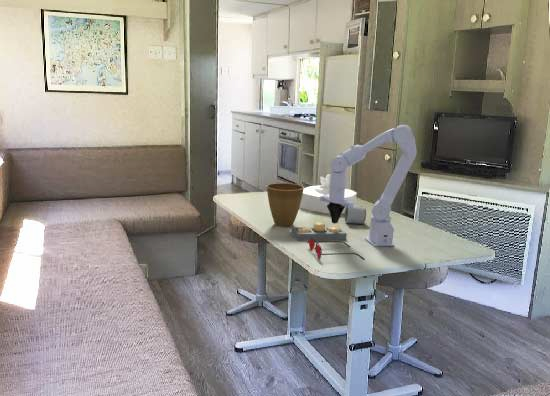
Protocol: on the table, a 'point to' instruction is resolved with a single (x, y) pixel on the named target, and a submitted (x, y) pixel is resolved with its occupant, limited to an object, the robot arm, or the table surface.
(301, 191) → the plant pot
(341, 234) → the board
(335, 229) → the tan rounded lump
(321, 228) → the tan rounded lump
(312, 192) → the white decorated cake
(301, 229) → the pale orange rounded lump
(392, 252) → the table surface
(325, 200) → the robot arm
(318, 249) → the glasses
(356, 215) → the ceramic mug
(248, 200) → the table surface
